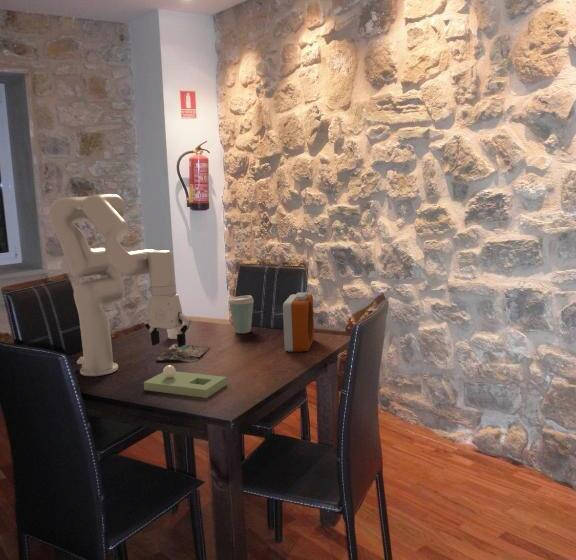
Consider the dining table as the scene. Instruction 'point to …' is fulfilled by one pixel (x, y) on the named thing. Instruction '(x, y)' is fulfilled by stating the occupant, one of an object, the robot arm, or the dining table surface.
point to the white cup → (173, 332)
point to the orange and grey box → (298, 322)
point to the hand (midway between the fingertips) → (168, 345)
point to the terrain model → (182, 354)
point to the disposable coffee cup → (242, 313)
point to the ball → (169, 371)
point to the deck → (186, 384)
